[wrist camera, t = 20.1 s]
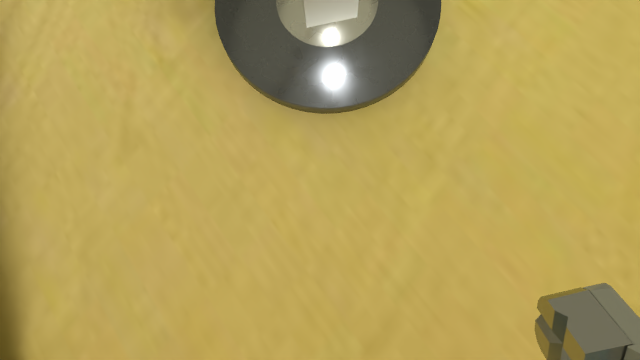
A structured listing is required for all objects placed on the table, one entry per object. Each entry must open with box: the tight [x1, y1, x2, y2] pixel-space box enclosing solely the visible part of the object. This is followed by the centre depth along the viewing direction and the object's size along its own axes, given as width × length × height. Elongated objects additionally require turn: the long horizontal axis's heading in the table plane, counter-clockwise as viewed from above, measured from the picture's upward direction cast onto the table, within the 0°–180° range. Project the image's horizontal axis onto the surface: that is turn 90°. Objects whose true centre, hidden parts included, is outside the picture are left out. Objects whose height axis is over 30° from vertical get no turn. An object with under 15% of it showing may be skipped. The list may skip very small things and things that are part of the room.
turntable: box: [215, 0, 441, 113], centre depth 43 cm, size 20×20×2 cm
